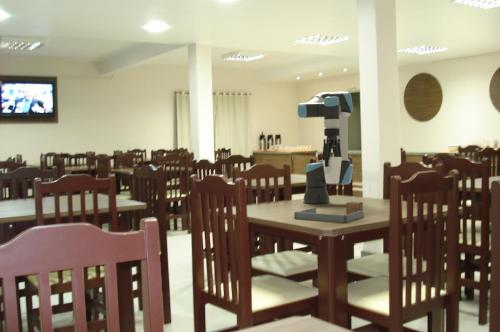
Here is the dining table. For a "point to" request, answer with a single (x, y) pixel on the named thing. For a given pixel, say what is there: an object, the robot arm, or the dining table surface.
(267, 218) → the dining table surface
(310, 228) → the dining table surface
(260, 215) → the dining table surface
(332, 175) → the foam cup
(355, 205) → the walnut block
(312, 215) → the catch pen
